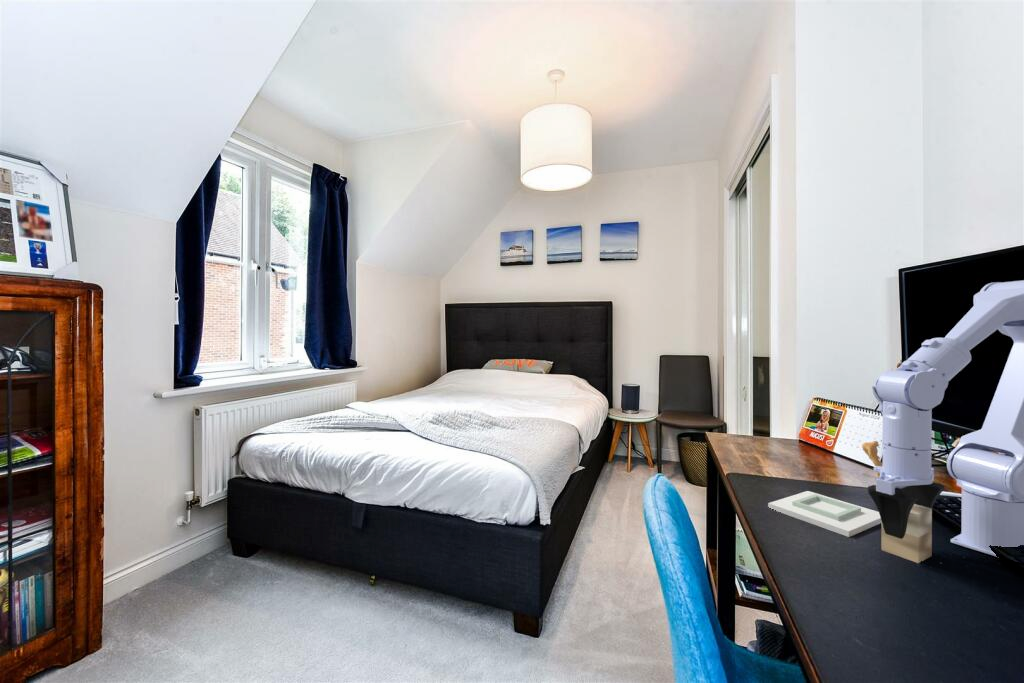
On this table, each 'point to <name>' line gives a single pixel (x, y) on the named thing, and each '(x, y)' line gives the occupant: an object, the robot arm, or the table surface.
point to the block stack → (912, 536)
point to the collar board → (827, 513)
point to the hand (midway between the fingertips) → (905, 530)
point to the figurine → (872, 453)
